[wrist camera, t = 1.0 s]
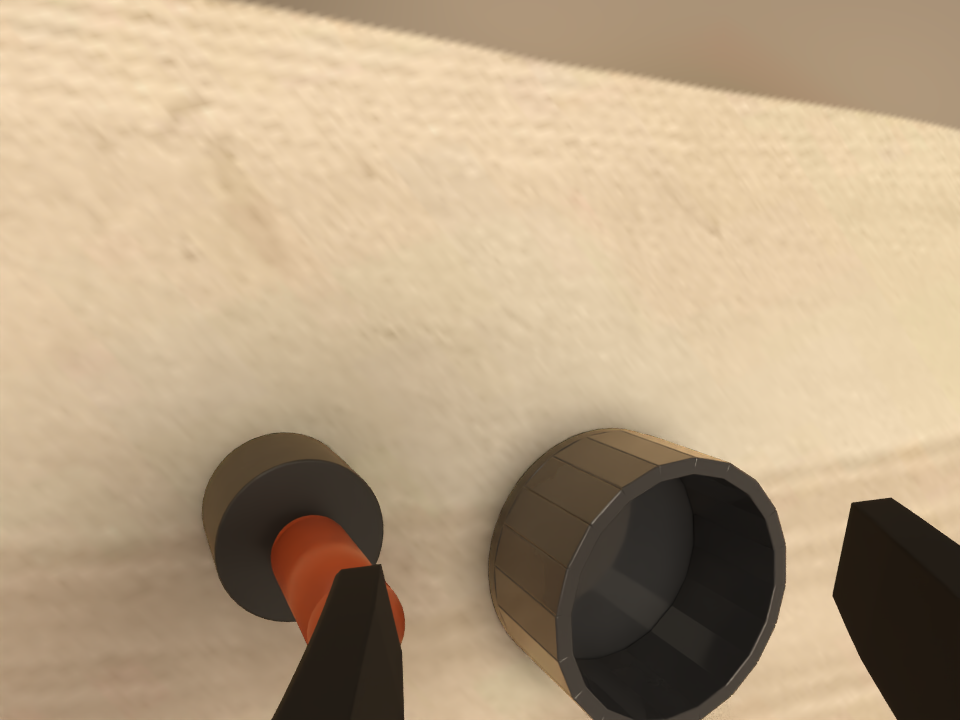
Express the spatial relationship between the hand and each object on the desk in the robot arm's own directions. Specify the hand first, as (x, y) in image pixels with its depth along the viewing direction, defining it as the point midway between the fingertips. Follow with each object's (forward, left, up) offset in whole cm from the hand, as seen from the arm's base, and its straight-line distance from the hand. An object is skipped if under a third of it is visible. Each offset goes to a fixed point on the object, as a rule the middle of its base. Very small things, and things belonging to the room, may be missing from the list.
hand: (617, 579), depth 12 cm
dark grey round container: (+2, -8, -11) cm, 14 cm away
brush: (-4, +1, -11) cm, 12 cm away
